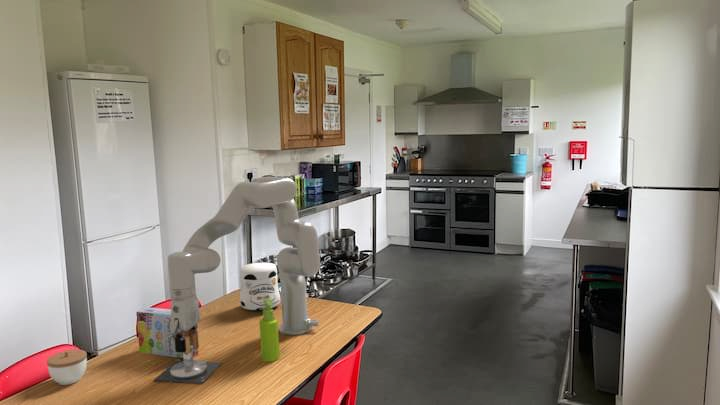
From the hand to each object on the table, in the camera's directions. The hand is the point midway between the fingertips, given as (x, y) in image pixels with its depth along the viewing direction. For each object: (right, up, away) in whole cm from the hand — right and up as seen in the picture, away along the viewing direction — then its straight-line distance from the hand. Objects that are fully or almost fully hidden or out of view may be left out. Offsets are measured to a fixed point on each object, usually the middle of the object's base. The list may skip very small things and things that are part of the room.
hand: (186, 346), depth 164 cm
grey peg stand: (0, -8, +1) cm, 9 cm away
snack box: (-12, -7, +16) cm, 21 cm away
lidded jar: (-36, -10, -2) cm, 37 cm away
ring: (0, -1, 0) cm, 1 cm away
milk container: (+12, 0, +61) cm, 62 cm away
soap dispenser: (+25, -7, +9) cm, 27 cm away
